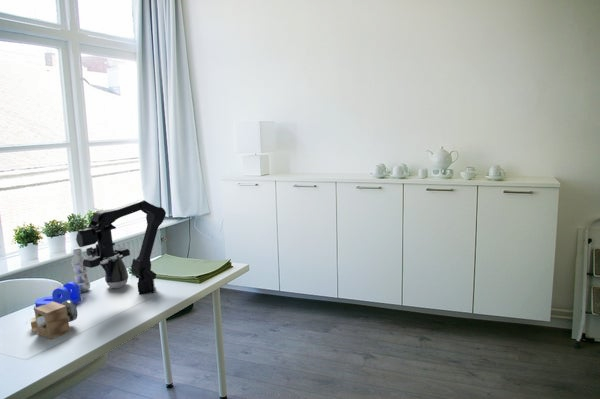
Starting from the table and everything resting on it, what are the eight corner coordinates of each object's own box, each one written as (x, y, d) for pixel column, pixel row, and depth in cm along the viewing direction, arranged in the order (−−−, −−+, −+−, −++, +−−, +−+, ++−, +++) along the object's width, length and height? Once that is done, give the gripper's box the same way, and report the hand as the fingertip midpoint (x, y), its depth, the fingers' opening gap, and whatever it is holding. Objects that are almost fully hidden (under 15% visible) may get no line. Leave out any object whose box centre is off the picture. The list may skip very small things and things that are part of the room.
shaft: (67, 317, 175) (64, 298, 173) (78, 321, 170) (75, 301, 169) (35, 330, 165) (31, 309, 163) (46, 335, 160) (43, 313, 159)
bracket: (81, 301, 197) (78, 281, 195) (68, 309, 189) (65, 288, 187) (45, 300, 200) (42, 281, 199) (31, 308, 192) (27, 288, 191)
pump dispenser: (133, 285, 213) (129, 254, 211) (112, 291, 206) (108, 259, 204) (123, 280, 220) (120, 250, 218) (102, 287, 213) (98, 256, 211)
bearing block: (57, 326, 172) (53, 301, 170) (69, 331, 167) (66, 306, 165) (38, 333, 166) (34, 308, 165) (50, 339, 161) (46, 313, 160)
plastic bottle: (78, 289, 212) (72, 248, 208) (93, 288, 212) (87, 247, 209) (72, 294, 205) (66, 252, 202) (88, 293, 206) (82, 251, 202)
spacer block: (44, 325, 173) (42, 315, 173) (44, 329, 170) (42, 319, 169) (32, 328, 172) (30, 318, 171) (32, 332, 168) (30, 322, 167)
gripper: (112, 234, 199) (117, 267, 202) (72, 245, 184) (78, 281, 187) (128, 236, 193) (133, 271, 196) (88, 247, 178) (94, 285, 181)
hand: (109, 276), depth 190 cm, fingers closed
